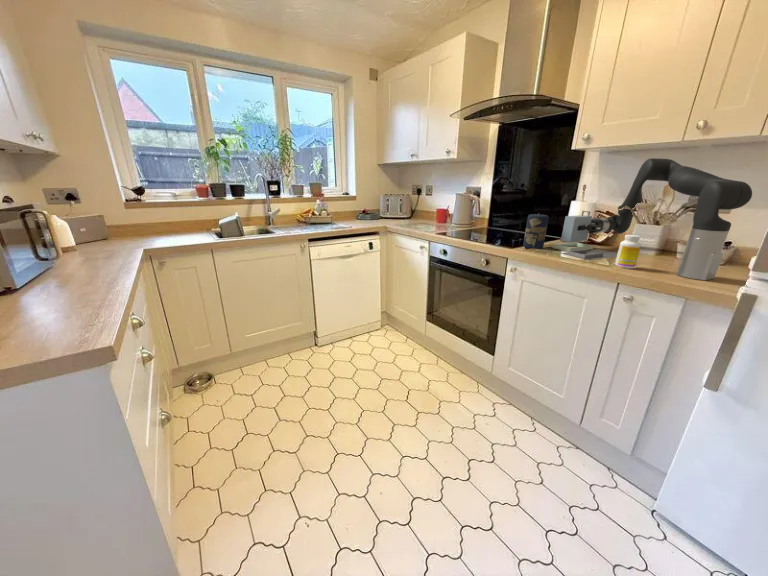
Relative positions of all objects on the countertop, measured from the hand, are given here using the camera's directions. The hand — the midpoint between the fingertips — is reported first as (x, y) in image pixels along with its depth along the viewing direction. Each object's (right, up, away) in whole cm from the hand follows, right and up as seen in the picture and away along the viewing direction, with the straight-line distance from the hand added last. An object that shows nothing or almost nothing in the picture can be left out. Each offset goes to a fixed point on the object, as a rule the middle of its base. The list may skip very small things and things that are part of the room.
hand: (573, 227), depth 152 cm
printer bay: (+5, -15, -8) cm, 17 cm away
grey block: (+2, -6, +3) cm, 7 cm away
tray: (+2, -10, +5) cm, 12 cm away
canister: (-16, -10, +8) cm, 20 cm away
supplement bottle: (+5, -21, -26) cm, 34 cm away
